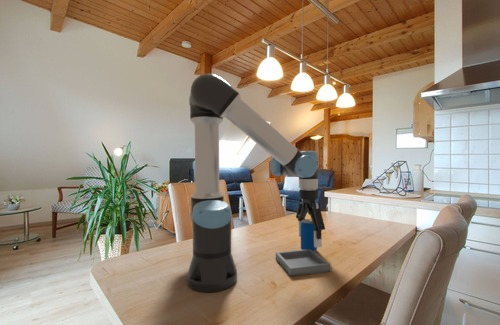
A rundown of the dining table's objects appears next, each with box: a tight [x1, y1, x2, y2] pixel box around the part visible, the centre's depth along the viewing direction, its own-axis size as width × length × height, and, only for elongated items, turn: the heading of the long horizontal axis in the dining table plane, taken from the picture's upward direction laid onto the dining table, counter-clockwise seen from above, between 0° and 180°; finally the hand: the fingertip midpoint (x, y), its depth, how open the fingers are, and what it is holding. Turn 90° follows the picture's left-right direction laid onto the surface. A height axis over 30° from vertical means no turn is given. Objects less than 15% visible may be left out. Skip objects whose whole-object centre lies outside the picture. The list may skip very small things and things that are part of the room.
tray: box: [275, 249, 331, 277], centre depth 84 cm, size 14×14×2 cm
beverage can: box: [300, 218, 318, 253], centre depth 97 cm, size 6×6×12 cm
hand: (309, 241), depth 97 cm, fingers open, 13 cm apart
